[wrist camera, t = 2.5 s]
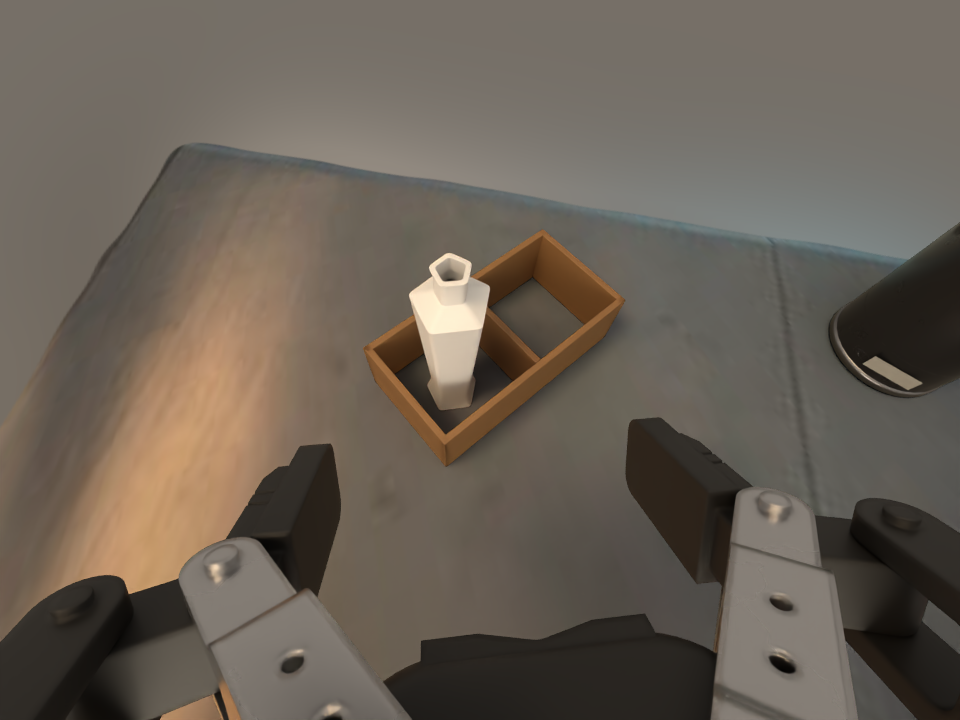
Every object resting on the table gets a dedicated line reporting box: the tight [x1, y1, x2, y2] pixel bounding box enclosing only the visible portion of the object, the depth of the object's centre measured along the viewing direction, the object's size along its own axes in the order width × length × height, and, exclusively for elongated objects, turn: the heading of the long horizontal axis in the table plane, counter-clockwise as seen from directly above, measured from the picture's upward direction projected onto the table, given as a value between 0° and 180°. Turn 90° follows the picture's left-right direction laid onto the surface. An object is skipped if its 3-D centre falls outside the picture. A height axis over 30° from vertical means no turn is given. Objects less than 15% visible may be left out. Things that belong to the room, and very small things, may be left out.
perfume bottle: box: [409, 253, 490, 410], centre depth 30 cm, size 5×4×15 cm
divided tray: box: [363, 229, 625, 466], centre depth 36 cm, size 18×9×6 cm, turn 131°
